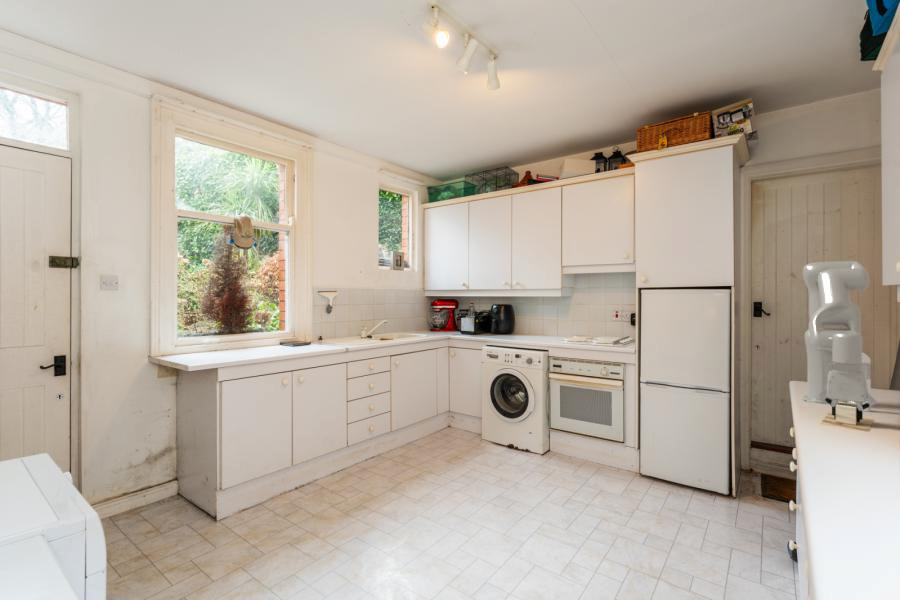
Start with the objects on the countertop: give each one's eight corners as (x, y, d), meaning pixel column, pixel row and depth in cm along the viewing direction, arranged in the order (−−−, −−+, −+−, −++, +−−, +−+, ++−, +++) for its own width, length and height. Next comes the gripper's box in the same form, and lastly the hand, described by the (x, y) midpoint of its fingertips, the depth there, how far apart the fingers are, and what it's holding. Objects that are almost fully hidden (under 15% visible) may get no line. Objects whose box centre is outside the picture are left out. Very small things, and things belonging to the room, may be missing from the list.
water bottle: (876, 414, 159) (876, 348, 159) (857, 414, 160) (857, 348, 159) (858, 409, 166) (858, 346, 166) (841, 409, 166) (841, 346, 166)
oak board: (829, 414, 159) (829, 411, 159) (874, 421, 150) (874, 418, 150) (820, 426, 145) (820, 423, 145) (869, 434, 136) (869, 431, 136)
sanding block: (838, 418, 151) (838, 401, 151) (858, 421, 147) (858, 404, 147) (835, 422, 146) (835, 405, 146) (855, 425, 142) (855, 408, 142)
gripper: (813, 366, 150) (813, 416, 150) (881, 372, 137) (881, 427, 137) (816, 363, 155) (816, 412, 155) (882, 369, 142) (882, 422, 142)
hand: (847, 419), depth 146 cm, fingers closed on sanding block, 5 cm apart
